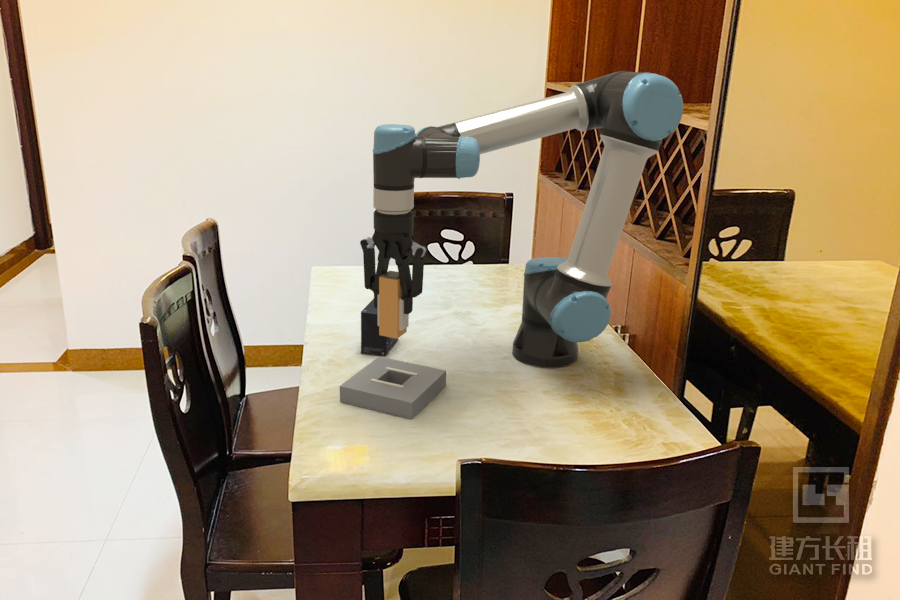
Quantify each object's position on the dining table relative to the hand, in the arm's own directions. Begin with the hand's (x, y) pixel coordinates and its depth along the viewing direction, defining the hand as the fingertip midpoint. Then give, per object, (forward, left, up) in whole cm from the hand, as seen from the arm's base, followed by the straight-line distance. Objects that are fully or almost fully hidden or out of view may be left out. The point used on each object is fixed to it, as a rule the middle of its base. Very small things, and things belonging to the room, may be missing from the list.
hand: (393, 325), depth 143 cm
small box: (+14, -20, -15) cm, 29 cm away
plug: (0, 0, -2) cm, 2 cm away
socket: (0, 0, -15) cm, 15 cm away
